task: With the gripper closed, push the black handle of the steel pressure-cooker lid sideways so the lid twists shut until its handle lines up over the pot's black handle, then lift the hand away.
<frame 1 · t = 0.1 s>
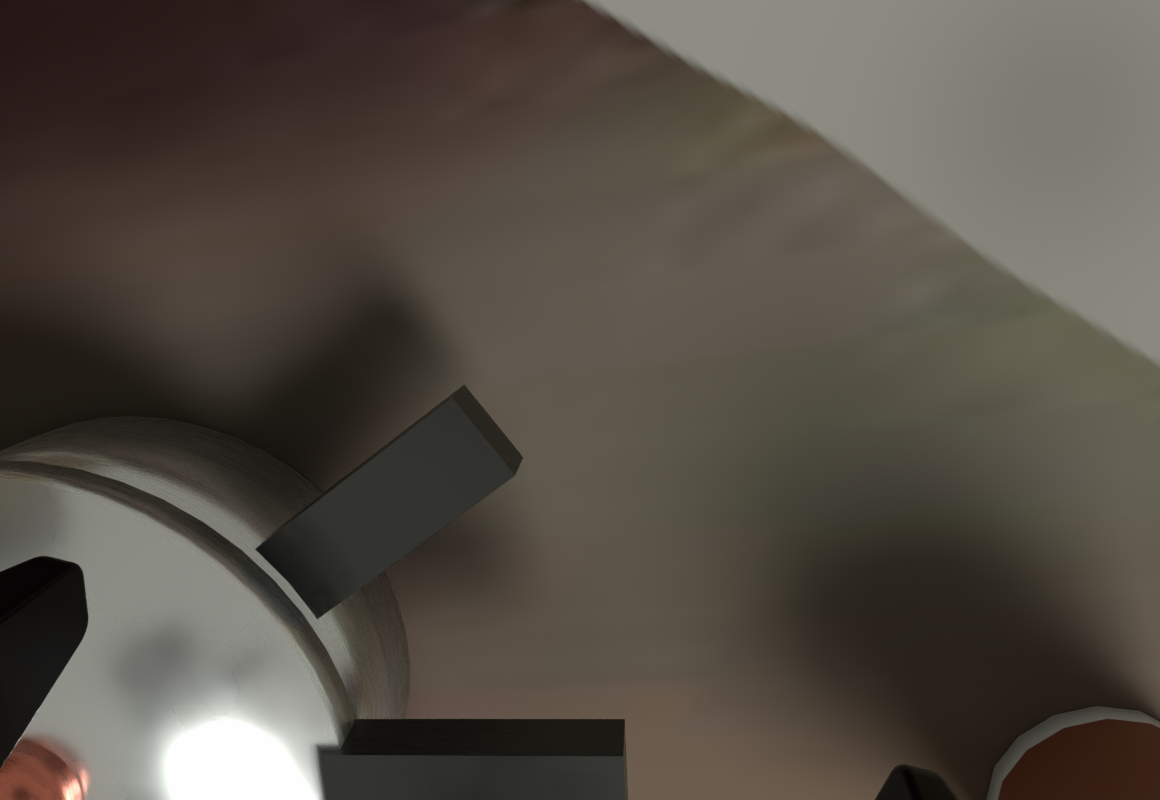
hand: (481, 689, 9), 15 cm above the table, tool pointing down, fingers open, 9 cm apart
cooker pot: (168, 653, 27), on the table
coffee cup: (1089, 792, 26), on the table
cooker lid: (154, 790, 21), point 6 cm above the table, hinge at -35.0°
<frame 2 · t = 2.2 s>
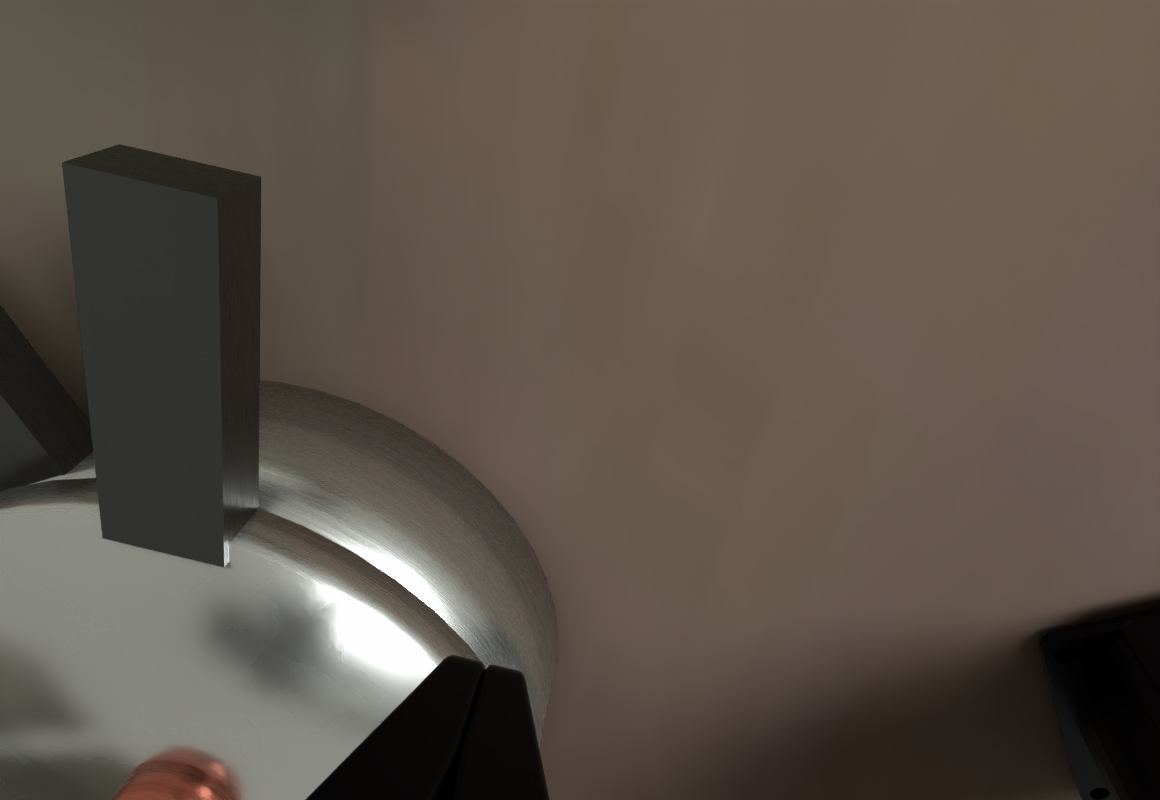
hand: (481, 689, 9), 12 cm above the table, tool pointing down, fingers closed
cooker pot: (298, 614, 25), on the table
cooker lid: (178, 704, 18), point 6 cm above the table, hinge at -35.0°
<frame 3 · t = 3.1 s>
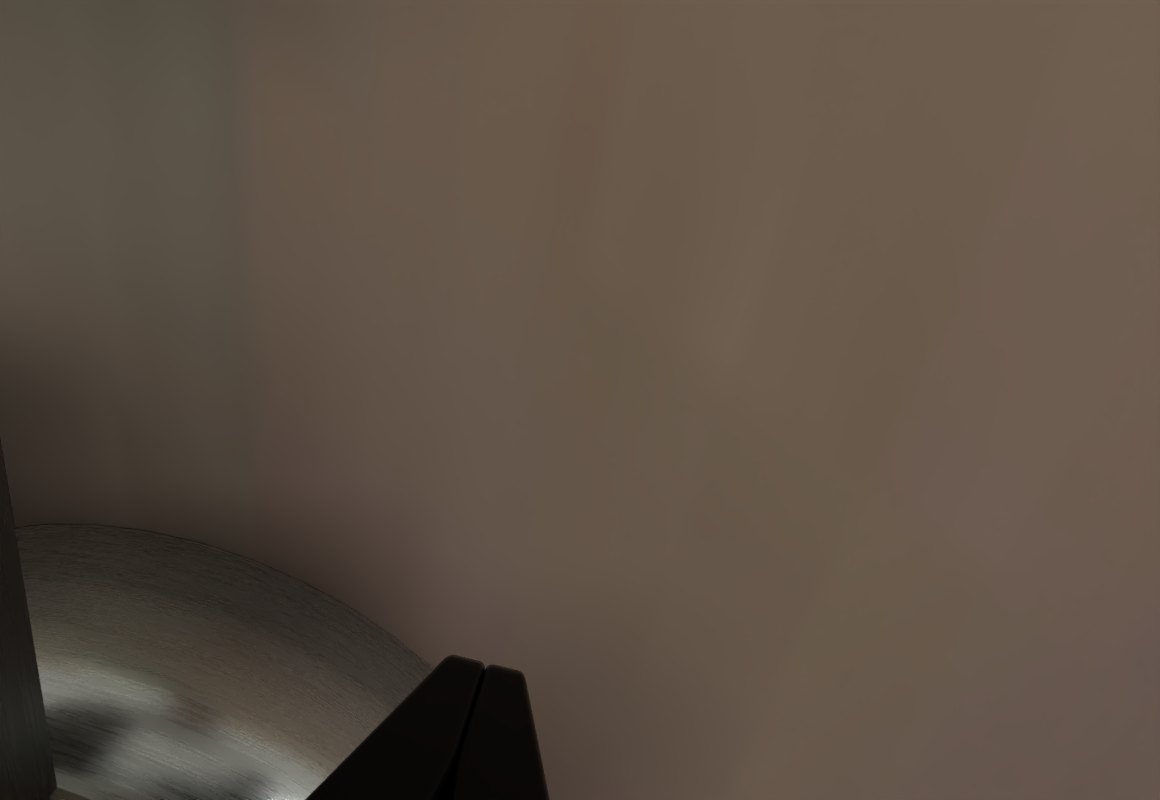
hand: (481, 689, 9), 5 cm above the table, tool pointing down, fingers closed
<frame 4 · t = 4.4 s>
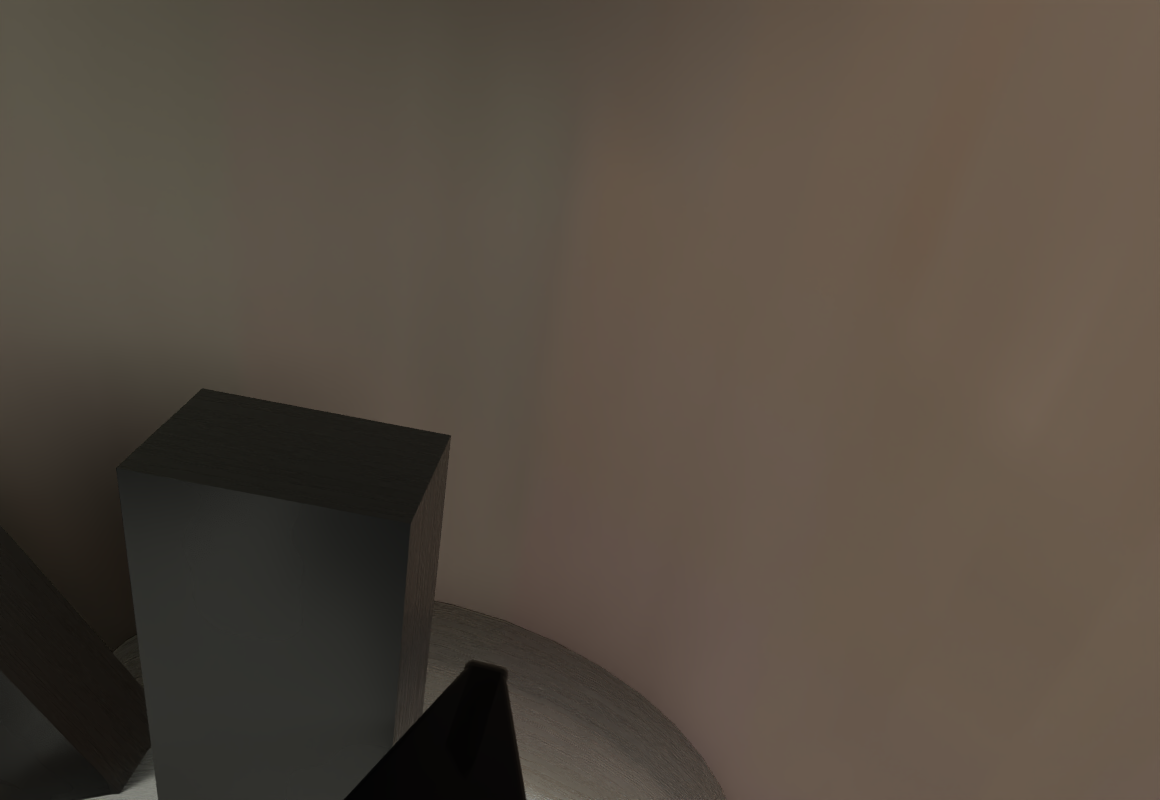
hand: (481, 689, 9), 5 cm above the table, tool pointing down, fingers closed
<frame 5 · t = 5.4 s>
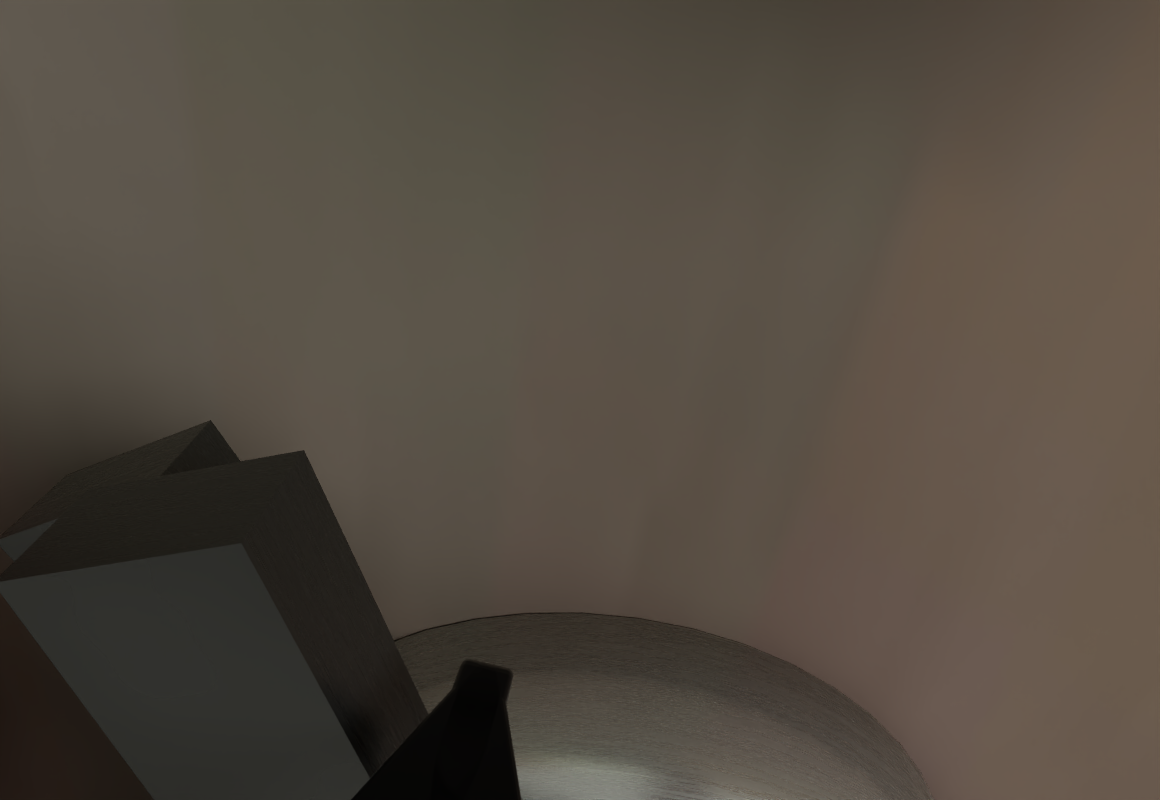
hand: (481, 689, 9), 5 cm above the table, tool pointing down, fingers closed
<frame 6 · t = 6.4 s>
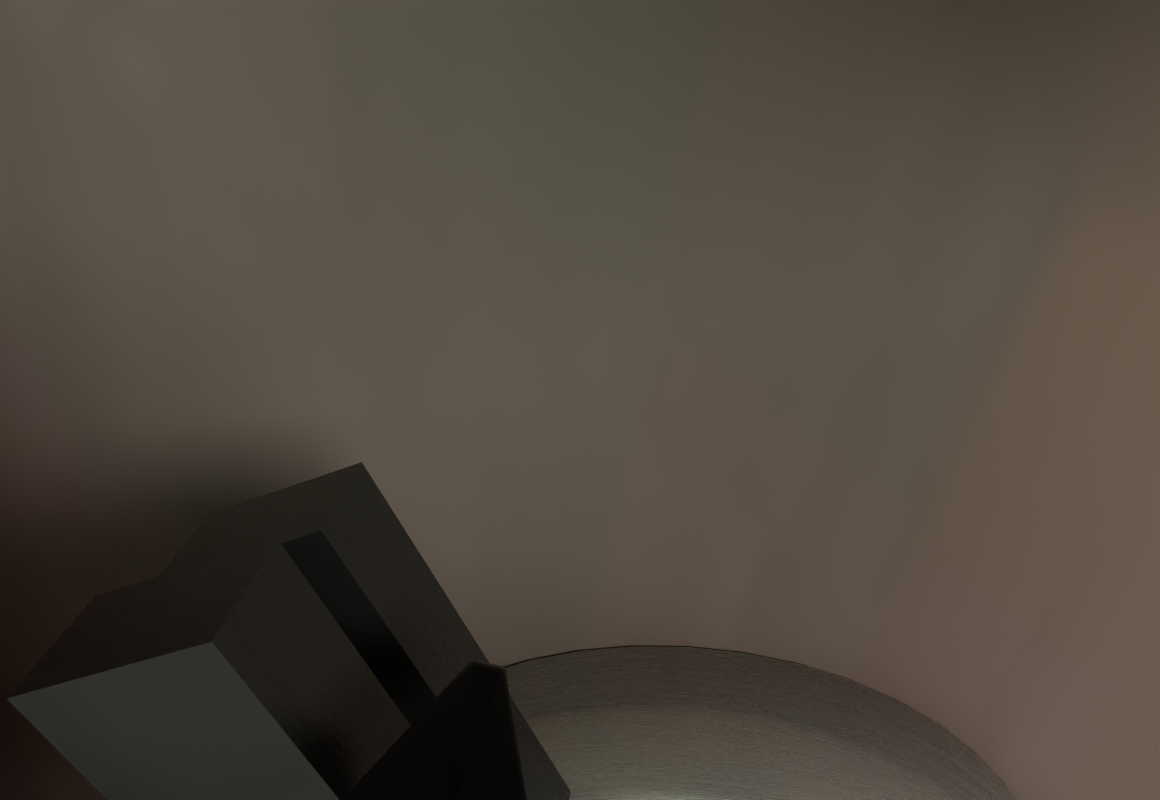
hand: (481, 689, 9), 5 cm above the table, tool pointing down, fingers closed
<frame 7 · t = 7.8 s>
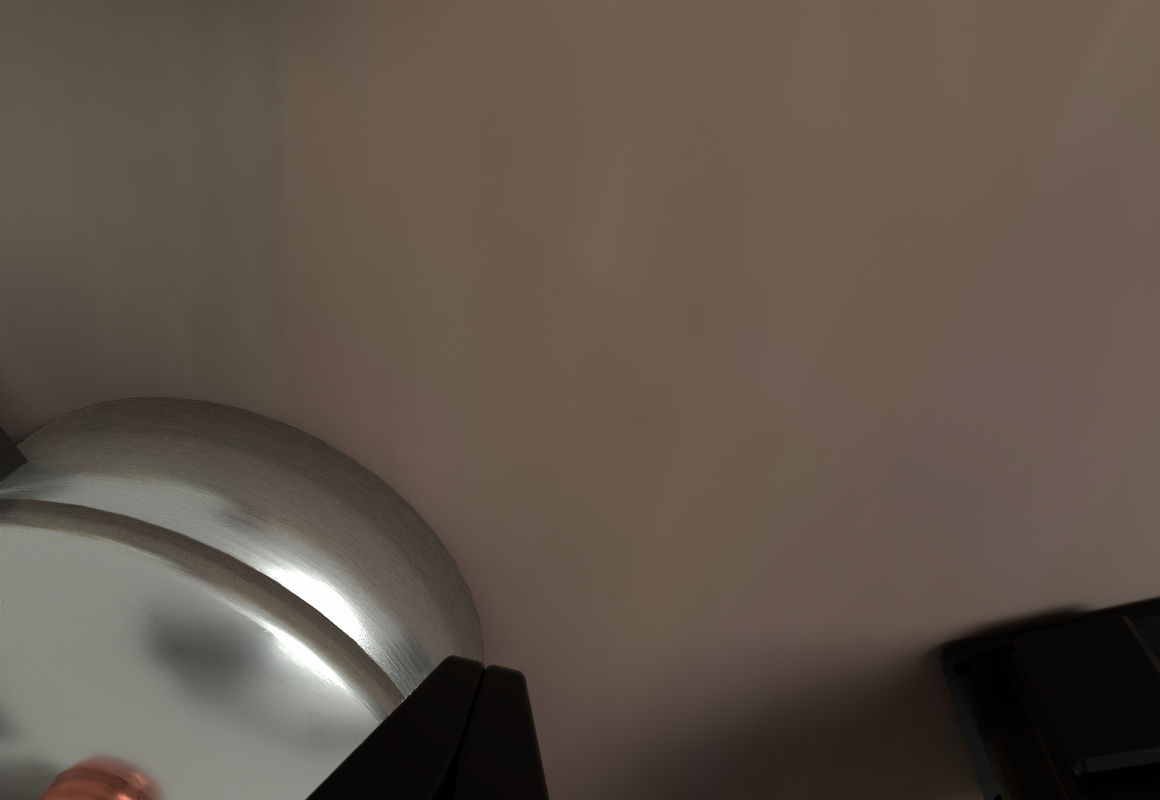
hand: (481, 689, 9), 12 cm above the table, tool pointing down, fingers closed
cooker pot: (232, 624, 26), on the table
cooker lid: (16, 713, 19), point 6 cm above the table, hinge at -0.3°
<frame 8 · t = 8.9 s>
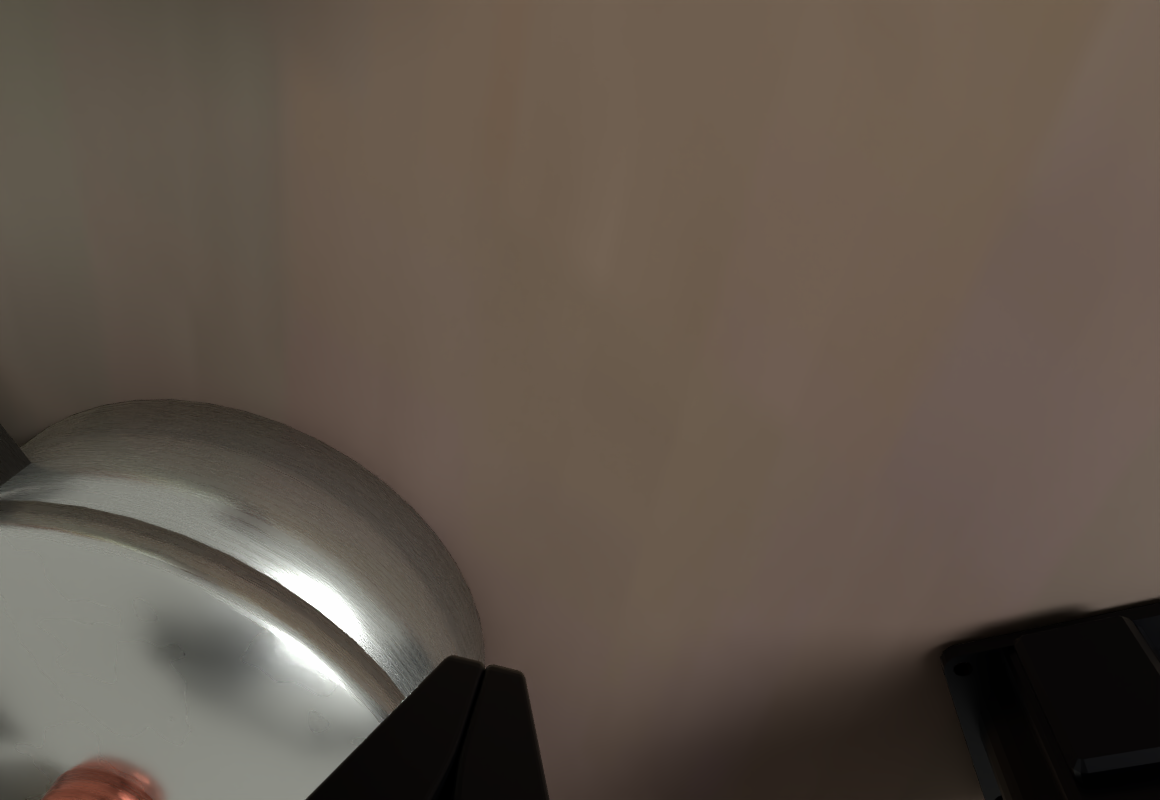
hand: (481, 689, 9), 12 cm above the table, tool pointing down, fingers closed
cooker pot: (234, 625, 26), on the table
cooker lid: (19, 713, 19), point 6 cm above the table, hinge at -0.3°
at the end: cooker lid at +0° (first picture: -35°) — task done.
